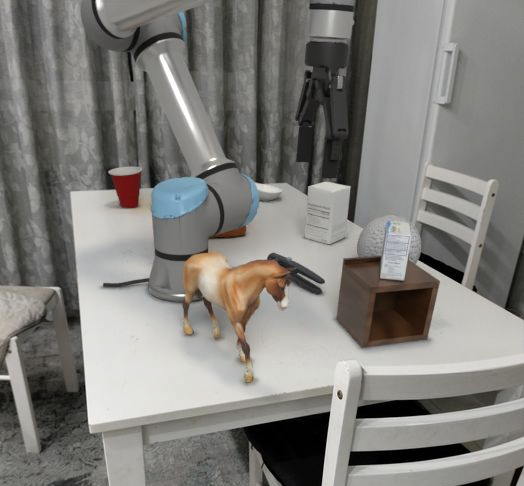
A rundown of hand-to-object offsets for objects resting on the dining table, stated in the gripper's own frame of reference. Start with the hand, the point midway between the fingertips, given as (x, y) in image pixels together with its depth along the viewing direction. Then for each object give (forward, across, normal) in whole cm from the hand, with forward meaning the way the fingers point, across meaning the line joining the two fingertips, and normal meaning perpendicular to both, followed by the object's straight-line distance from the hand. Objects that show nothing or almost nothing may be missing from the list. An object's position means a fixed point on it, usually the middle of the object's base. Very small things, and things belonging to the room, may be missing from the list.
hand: (315, 169), depth 100 cm
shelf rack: (+28, -16, -11) cm, 34 cm away
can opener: (+28, +10, -2) cm, 30 cm away
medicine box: (+15, -16, -11) cm, 25 cm away
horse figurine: (+28, -16, +19) cm, 38 cm away
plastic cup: (+30, +84, +31) cm, 95 cm away
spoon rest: (+30, +87, -12) cm, 93 cm away
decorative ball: (+28, +9, -25) cm, 39 cm away
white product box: (+29, +40, -22) cm, 54 cm away
